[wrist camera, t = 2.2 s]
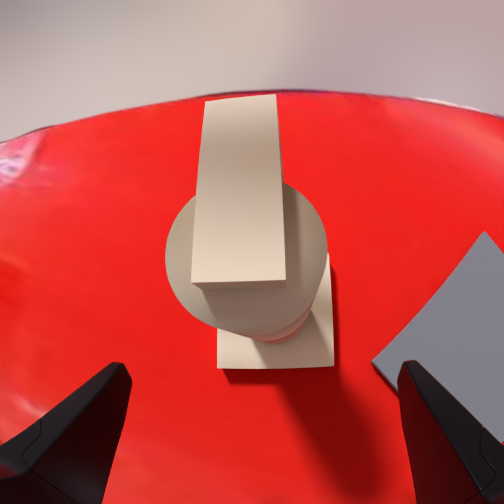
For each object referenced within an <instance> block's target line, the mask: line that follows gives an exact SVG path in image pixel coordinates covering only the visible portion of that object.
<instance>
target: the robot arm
mask: <svg viewBox="0 0 504 504" xmlns="http://www.w3.org/2000/svg"><path fill="white" fill-rule="evenodd" d="M131 387H132V379H131V376H130V374H129V372H128V371H127V369H126V367H125V365H124V364H123V363H119V362H112V363H110V364H109V365H107V366H106V367H105V368H104V369H102V370H101V371H100V372H99V373H97V374H96V375H95V376H93V377H92V378H91V379H90V380H88V381H87V382H86V383H85V384H83V385H82V386H81V387H79V388H78V389H77V390H76V391H74V392H73V393H72V394H71V395H69V396H68V397H67V398H65V399H64V400H63V401H62V402H60V403H59V404H58V405H57V406H55V407H54V408H53V409H51V410H50V411H49V412H48V413H46V414H45V415H44V416H43V417H42V418H40V419H39V420H37V421H36V422H35V423H33V424H32V425H31V426H29V427H28V428H27V429H25V430H24V431H23V432H21V433H20V434H18V435H17V436H15V437H13V438H12V439H10V440H9V441H7V442H6V443H4V444H2V445H1V446H0V504H102V501H103V497H104V493H105V489H106V485H107V481H108V478H109V474H110V470H111V467H112V463H113V459H114V456H115V452H116V449H117V446H118V442H119V439H120V436H121V432H122V429H123V425H124V422H125V418H126V413H127V407H128V402H129V397H130V392H131ZM397 387H398V395H399V403H400V412H401V421H402V427H403V432H404V437H405V441H406V446H407V451H408V456H409V461H410V466H411V472H412V477H413V483H414V489H415V495H416V501H417V504H504V445H503V444H502V443H500V442H499V441H498V440H497V439H496V438H495V437H494V436H493V435H492V434H491V433H490V432H489V431H488V430H487V429H486V428H485V427H483V425H482V424H481V423H480V422H479V421H478V420H477V419H476V418H475V417H474V416H473V415H472V414H471V413H470V412H469V411H468V410H467V409H466V408H465V407H464V406H463V405H462V404H461V403H460V402H459V401H458V400H457V399H456V398H455V397H454V396H453V395H452V394H451V393H450V392H449V391H448V390H447V389H446V388H445V387H444V386H443V385H442V384H441V383H440V382H439V381H438V380H436V379H435V378H434V377H433V376H432V375H431V374H430V373H429V372H428V371H427V370H426V369H425V368H424V367H423V366H422V365H421V364H420V363H419V362H418V361H416V360H407V361H404V362H403V363H402V365H401V369H400V372H399V375H398V378H397Z"/></svg>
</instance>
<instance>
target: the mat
mask: <svg viewBox="0 0 504 504" xmlns="http://www.w3.org/2000/svg"><path fill="white" fill-rule="evenodd" d="M407 360H416V361H418V362H419V363H420V364H421V365H422V366H423V367H424V368H425V369H426V370H427V371H428V372H429V373H430V374H431V375H432V376H433V377H434V378H435V379H436V380H438V381H439V382H440V383H441V384H442V385H443V386H444V387H445V388H446V389H447V390H448V391H449V392H450V393H451V394H452V395H453V396H454V397H455V398H456V399H457V400H458V401H459V402H460V403H461V404H462V405H463V406H464V407H465V408H466V409H467V410H468V411H469V412H470V413H471V414H472V415H473V416H474V417H475V418H476V419H477V420H478V421H479V422H480V423H481V424H482V425H483V427H485V428H486V429H487V430H488V431H489V432H490V433H491V434H492V435H493V436H494V437H495V438H496V439H497V440H498V441H499V442H500V443H502V442H503V441H504V254H503V253H502V252H501V250H500V249H499V248H498V247H497V245H496V244H495V243H494V242H493V240H492V239H491V238H490V237H489V236H488V234H487V233H486V232H483V233H482V234H481V235H480V236H479V237H478V239H477V240H476V242H475V243H474V244H473V246H472V247H471V248H470V250H469V251H468V253H467V254H466V255H465V257H464V258H463V259H462V260H461V262H460V263H459V264H458V266H457V267H456V268H455V270H454V271H453V272H452V273H451V275H450V276H449V277H448V278H447V280H446V281H445V282H444V283H443V285H442V286H441V287H440V288H439V289H438V291H437V292H436V293H435V294H434V295H433V296H432V298H431V299H430V300H429V301H428V302H427V303H426V305H425V306H424V307H423V308H422V309H421V310H420V311H419V312H418V314H417V315H416V316H415V317H414V318H413V319H412V320H411V321H410V322H409V323H408V324H407V326H406V327H405V328H404V329H403V330H402V331H401V332H400V333H399V334H398V335H397V336H396V337H395V338H394V339H393V340H392V341H391V342H390V343H389V344H388V345H387V346H386V347H385V348H384V349H383V350H382V351H381V352H380V353H379V354H378V355H377V356H376V357H375V358H374V359H373V360H372V361H371V363H372V364H373V365H374V366H375V367H376V368H377V370H378V371H379V372H380V373H381V374H382V375H383V376H384V378H385V379H386V380H387V381H388V382H389V383H390V384H391V386H392V387H393V388H394V389H395V390H396V391H397V393H398V387H397V378H398V375H399V372H400V369H401V365H402V363H403V362H404V361H407Z"/></svg>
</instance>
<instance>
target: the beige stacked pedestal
mask: <svg viewBox="0 0 504 504" xmlns="http://www.w3.org/2000/svg"><path fill="white" fill-rule="evenodd" d="M165 263H166V271H167V275H168V279H169V282H170V285H171V287H172V290H173V291H174V293H175V295H176V297H177V298H178V300H179V301H180V302H181V304H182V305H183V306H184V307H185V308H186V309H187V310H188V311H189V312H190V313H191V314H192V315H193V316H195V317H196V318H198V319H199V320H200V321H202V322H204V323H206V324H208V325H210V326H213V327H216V328H218V333H217V368H230V369H279V368H309V367H327V366H334V339H333V314H332V294H331V278H330V264H329V253H327V239H326V233H325V230H324V227H323V223H322V221H321V219H320V217H319V215H318V213H317V212H316V210H315V209H314V207H313V206H312V205H311V203H310V202H309V201H308V200H307V199H306V198H305V197H304V196H303V195H302V194H301V193H300V192H298V191H297V190H295V189H294V188H292V187H291V186H289V185H287V184H285V183H284V180H283V164H282V153H281V142H280V132H279V122H278V112H277V102H276V94H273V95H260V96H249V97H239V98H230V99H222V100H214V101H207V102H206V103H205V111H204V120H203V129H202V138H201V147H200V158H199V168H198V179H197V191H196V195H195V196H194V197H193V198H192V199H191V200H190V201H189V202H188V203H187V204H186V205H185V206H184V207H183V209H182V210H181V211H180V213H179V214H178V216H177V218H176V219H175V221H174V223H173V225H172V228H171V230H170V232H169V236H168V240H167V244H166V251H165Z"/></svg>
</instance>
